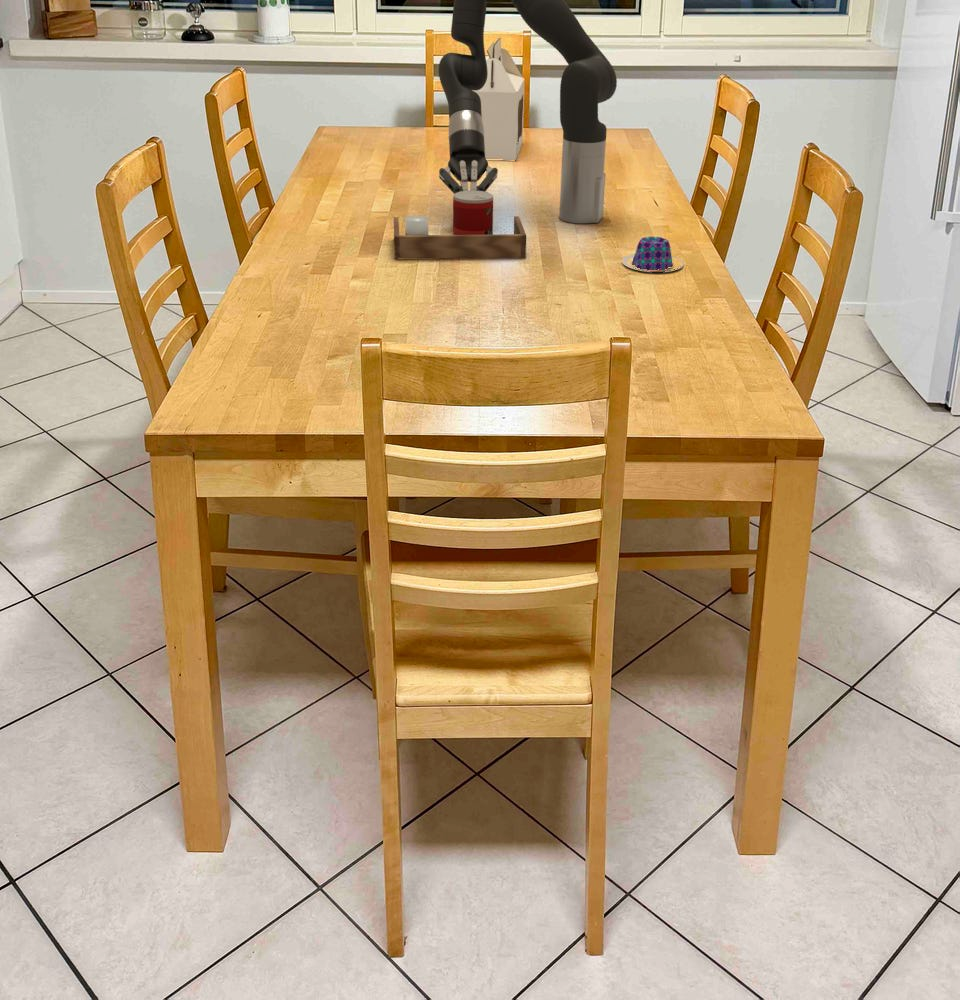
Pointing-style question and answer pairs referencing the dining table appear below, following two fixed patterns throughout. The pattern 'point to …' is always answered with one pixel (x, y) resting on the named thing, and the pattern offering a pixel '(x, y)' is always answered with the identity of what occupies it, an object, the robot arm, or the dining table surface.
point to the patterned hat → (652, 255)
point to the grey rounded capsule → (416, 225)
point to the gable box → (502, 105)
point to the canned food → (472, 213)
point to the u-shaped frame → (461, 244)
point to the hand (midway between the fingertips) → (470, 210)
